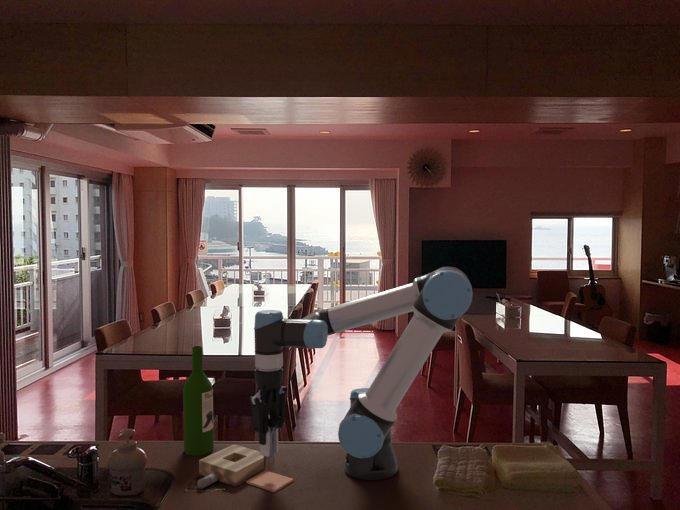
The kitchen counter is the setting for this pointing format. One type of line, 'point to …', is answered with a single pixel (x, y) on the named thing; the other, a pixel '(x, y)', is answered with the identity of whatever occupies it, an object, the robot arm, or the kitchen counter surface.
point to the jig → (230, 466)
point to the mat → (270, 481)
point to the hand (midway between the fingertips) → (269, 452)
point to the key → (272, 442)
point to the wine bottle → (198, 409)
